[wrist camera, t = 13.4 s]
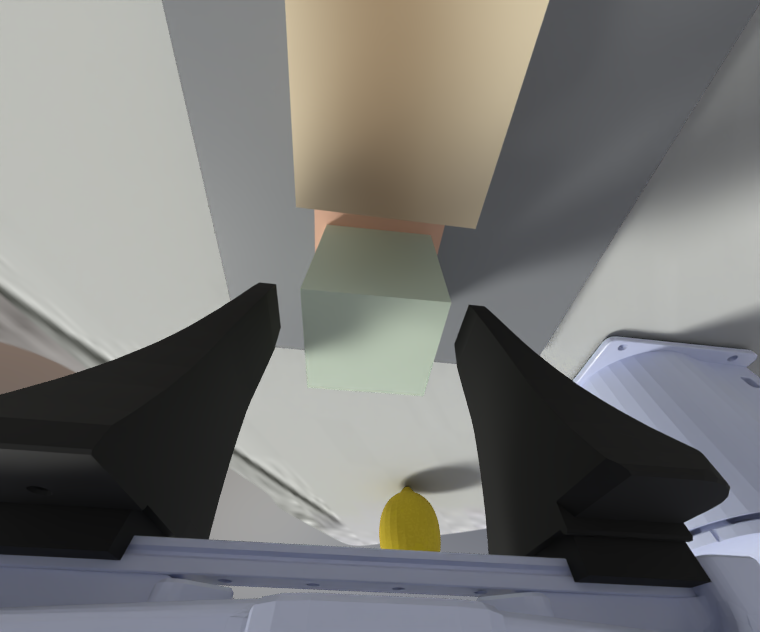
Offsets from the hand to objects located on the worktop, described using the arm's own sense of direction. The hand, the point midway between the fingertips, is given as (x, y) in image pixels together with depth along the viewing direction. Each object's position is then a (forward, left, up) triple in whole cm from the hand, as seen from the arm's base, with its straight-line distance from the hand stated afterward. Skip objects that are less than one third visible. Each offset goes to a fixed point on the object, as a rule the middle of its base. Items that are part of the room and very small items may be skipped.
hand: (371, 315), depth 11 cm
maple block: (0, -7, -3) cm, 7 cm away
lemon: (-6, +25, -5) cm, 26 cm away
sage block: (0, 0, -3) cm, 3 cm away
